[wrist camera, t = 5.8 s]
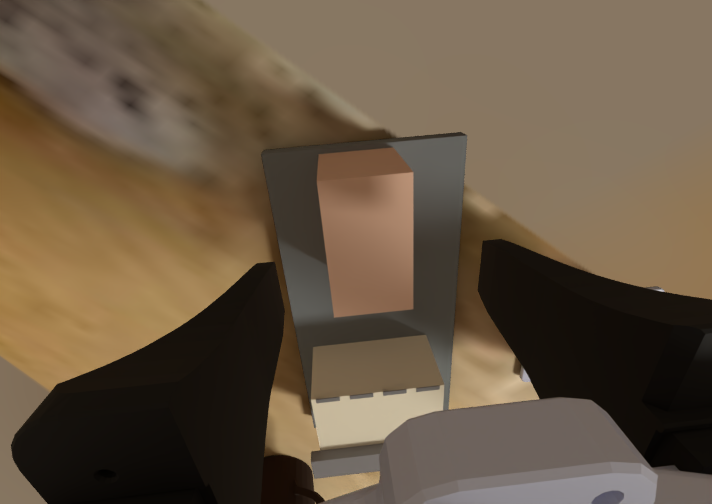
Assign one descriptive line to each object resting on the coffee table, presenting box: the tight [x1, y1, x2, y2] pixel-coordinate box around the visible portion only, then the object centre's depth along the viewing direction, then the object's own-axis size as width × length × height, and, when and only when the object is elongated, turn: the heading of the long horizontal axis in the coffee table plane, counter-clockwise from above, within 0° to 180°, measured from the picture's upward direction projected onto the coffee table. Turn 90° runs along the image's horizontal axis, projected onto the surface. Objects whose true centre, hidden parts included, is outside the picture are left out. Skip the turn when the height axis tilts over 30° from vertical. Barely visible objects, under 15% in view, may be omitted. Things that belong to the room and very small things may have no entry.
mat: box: [261, 132, 467, 428], centre depth 25 cm, size 11×22×1 cm, turn 4°
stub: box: [317, 147, 413, 318], centre depth 19 cm, size 4×7×5 cm, turn 4°
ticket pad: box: [311, 335, 444, 479], centre depth 25 cm, size 9×7×5 cm
